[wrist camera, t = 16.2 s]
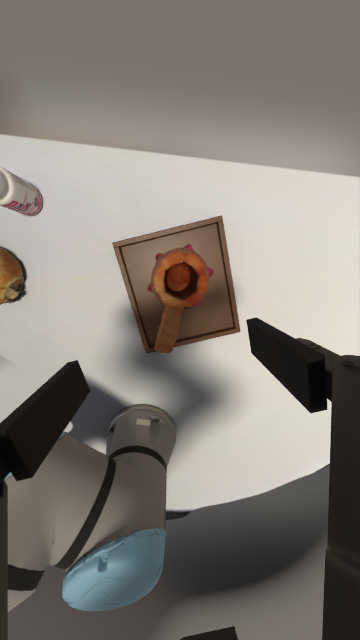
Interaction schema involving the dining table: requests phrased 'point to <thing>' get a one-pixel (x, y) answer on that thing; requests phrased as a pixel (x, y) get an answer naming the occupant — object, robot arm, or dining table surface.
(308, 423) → the dining table surface
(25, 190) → the pill bottle
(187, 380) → the dining table surface
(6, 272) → the bread roll
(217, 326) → the tray
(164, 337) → the mug
